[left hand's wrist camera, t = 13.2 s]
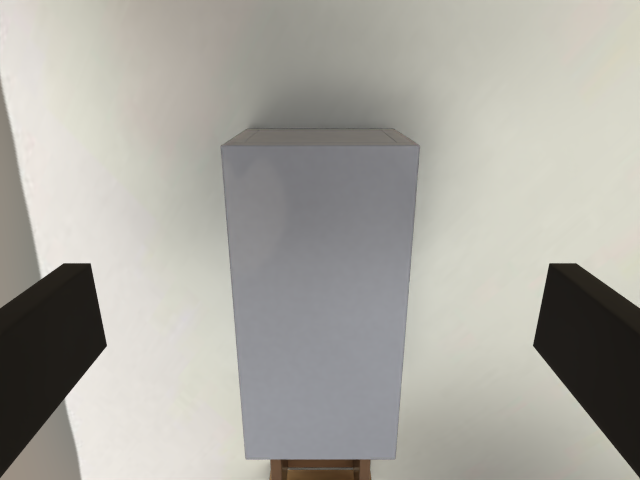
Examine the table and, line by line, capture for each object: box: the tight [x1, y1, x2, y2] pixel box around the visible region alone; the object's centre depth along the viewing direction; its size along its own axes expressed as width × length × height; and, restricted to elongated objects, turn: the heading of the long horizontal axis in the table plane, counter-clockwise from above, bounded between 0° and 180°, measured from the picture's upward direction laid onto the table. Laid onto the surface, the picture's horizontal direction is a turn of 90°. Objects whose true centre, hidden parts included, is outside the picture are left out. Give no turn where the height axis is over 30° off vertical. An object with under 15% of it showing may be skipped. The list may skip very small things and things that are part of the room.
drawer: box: [270, 459, 371, 480], centre depth 36 cm, size 26×9×7 cm, turn 0°
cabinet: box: [221, 129, 420, 459], centre depth 31 cm, size 22×11×9 cm, turn 0°
